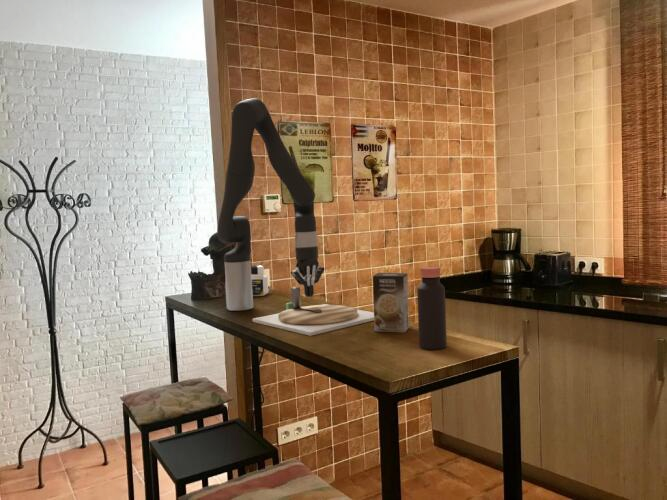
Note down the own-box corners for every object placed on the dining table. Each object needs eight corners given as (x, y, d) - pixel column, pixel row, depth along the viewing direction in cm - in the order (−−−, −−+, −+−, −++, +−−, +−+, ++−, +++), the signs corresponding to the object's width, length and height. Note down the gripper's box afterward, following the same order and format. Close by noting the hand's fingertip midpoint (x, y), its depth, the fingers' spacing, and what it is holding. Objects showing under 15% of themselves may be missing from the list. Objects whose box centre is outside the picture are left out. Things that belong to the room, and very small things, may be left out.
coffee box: (373, 331, 166) (370, 275, 164) (379, 326, 172) (376, 272, 170) (405, 332, 163) (403, 275, 161) (410, 327, 169) (407, 272, 167)
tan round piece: (373, 313, 185) (372, 288, 184) (312, 328, 168) (311, 300, 167) (322, 305, 203) (321, 282, 203) (262, 317, 187) (261, 292, 186)
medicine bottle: (246, 296, 238) (244, 266, 237) (252, 293, 245) (250, 264, 244) (263, 295, 237) (261, 266, 236) (268, 292, 244) (266, 264, 243)
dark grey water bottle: (428, 351, 142) (426, 270, 141) (414, 345, 149) (411, 267, 147) (452, 347, 145) (449, 267, 143) (436, 342, 151) (434, 265, 149)
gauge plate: (252, 321, 188) (251, 309, 187) (324, 306, 207) (324, 295, 207) (310, 335, 165) (309, 321, 164) (385, 317, 184) (384, 305, 184)
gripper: (315, 243, 202) (318, 292, 204) (283, 246, 194) (286, 298, 196) (328, 243, 197) (331, 294, 198) (296, 247, 188) (300, 300, 190)
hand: (309, 296), depth 197 cm, fingers closed
